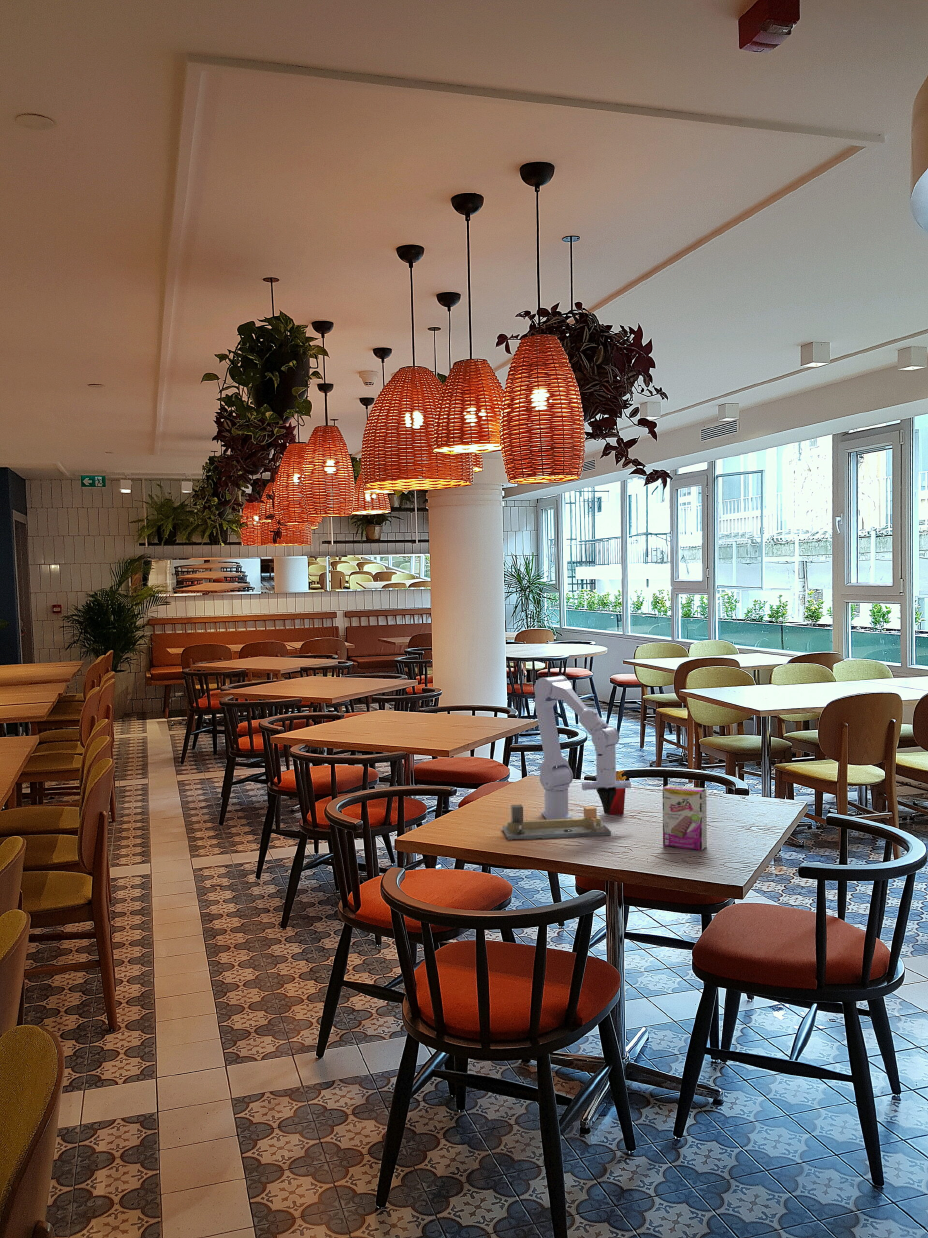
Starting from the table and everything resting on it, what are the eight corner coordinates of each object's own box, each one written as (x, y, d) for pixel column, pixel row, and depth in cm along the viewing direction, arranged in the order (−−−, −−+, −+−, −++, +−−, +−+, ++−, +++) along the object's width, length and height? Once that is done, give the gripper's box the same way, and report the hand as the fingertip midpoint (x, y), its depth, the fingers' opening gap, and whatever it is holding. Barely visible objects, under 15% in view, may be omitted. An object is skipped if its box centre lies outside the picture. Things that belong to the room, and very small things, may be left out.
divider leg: (583, 822, 285) (583, 806, 285) (594, 821, 285) (594, 806, 285) (589, 828, 277) (589, 812, 277) (600, 828, 278) (600, 812, 277)
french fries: (625, 810, 305) (624, 764, 305) (627, 816, 297) (626, 769, 297) (597, 810, 306) (597, 764, 306) (598, 816, 298) (598, 769, 298)
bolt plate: (502, 829, 284) (502, 804, 284) (601, 825, 287) (600, 800, 287) (508, 840, 272) (507, 813, 272) (610, 835, 275) (610, 809, 275)
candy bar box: (662, 846, 263) (661, 787, 262) (668, 842, 267) (667, 784, 266) (702, 851, 257) (701, 791, 256) (707, 847, 261) (706, 787, 261)
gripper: (585, 771, 279) (585, 817, 279) (633, 769, 280) (634, 815, 281) (579, 766, 286) (580, 811, 286) (627, 765, 287) (627, 809, 288)
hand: (606, 813), depth 284 cm, fingers closed
